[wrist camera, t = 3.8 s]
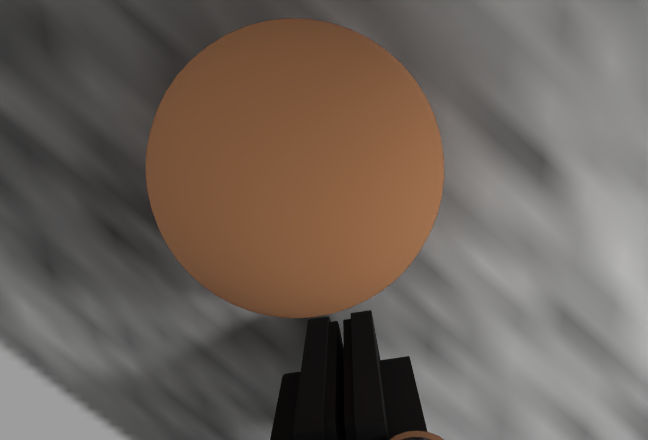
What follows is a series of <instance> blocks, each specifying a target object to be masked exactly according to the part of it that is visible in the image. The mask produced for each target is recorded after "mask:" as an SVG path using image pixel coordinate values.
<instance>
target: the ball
mask: <svg viewBox="0 0 648 440" xmlns="http://www.w3.org/2000/svg"><path fill="white" fill-rule="evenodd" d="M146 182H147V191H148V195H149V200H150V204H151V209H152V211H153V214H154V217H155V220H156V222H157V225H158V228H159V230H160V232H161V234H162V236H163V238H164V240H165V242H166V244H167V246H168V247H169V248H170V250H171V251H172V253H173V254H174V256H175V257H176V259H177V260H178V261H179V262H180V264H181V265H182V266H183V267H184V268H185V269H186V271H187V272H188V273H189V274H190V275H191V276H192V277H194V278H195V279H196V280H197V281H198V282H199V283H200V284H201V285H203V286H204V287H205V288H207V289H208V290H210V291H211V292H212V293H214V294H215V295H217V296H218V297H220V298H222V299H224V300H226V301H228V302H229V303H231V304H234V305H236V306H238V307H241V308H243V309H246V310H249V311H252V312H256V313H259V314H263V315H268V316H275V317H281V318H309V317H318V316H323V315H328V314H333V313H336V312H339V311H342V310H345V309H348V308H351V307H353V306H355V305H357V304H359V303H361V302H364V301H366V300H368V299H369V298H371V297H373V296H374V295H376V294H377V293H379V292H381V291H382V290H384V289H385V288H386V287H387V286H389V285H390V284H391V283H392V282H393V281H395V280H396V279H397V278H398V277H399V276H400V275H401V274H402V273H403V272H404V271H405V270H406V269H407V268H408V266H409V265H410V264H411V263H412V261H413V260H414V258H415V257H416V256H417V254H418V253H419V252H420V250H421V248H422V246H423V245H424V243H425V241H426V239H427V237H428V236H429V234H430V232H431V229H432V227H433V224H434V222H435V219H436V217H437V214H438V210H439V206H440V202H441V198H442V192H443V183H444V156H443V149H442V142H441V136H440V132H439V129H438V125H437V122H436V119H435V115H434V113H433V111H432V109H431V107H430V104H429V102H428V100H427V98H426V96H425V94H424V93H423V91H422V90H421V88H420V87H419V85H418V83H417V82H416V80H415V79H414V78H413V77H412V75H411V74H410V73H409V72H408V71H407V70H406V68H405V67H404V66H403V65H402V64H401V63H400V62H399V61H398V60H397V59H396V58H395V57H393V56H392V55H391V54H390V53H389V52H388V51H387V50H385V49H384V48H382V47H381V46H379V45H378V44H376V43H375V42H373V41H372V40H371V39H369V38H367V37H365V36H363V35H361V34H359V33H357V32H355V31H353V30H351V29H348V28H345V27H342V26H339V25H336V24H333V23H329V22H324V21H318V20H312V19H295V18H285V19H277V20H268V21H263V22H260V23H256V24H252V25H248V26H245V27H243V28H240V29H238V30H236V31H233V32H231V33H229V34H227V35H225V36H223V37H222V38H220V39H218V40H217V41H215V42H213V43H212V44H210V45H209V46H207V47H206V48H205V49H204V50H202V51H201V52H200V53H199V54H198V55H196V56H195V57H194V58H193V59H192V60H190V61H189V63H188V64H187V65H186V66H185V67H184V68H183V69H182V70H181V71H180V73H179V74H178V75H177V76H176V77H175V79H174V80H173V82H172V83H171V85H170V86H169V88H168V89H167V91H166V92H165V94H164V97H163V99H162V101H161V103H160V105H159V107H158V109H157V112H156V115H155V118H154V121H153V124H152V127H151V130H150V134H149V140H148V145H147V151H146Z"/></svg>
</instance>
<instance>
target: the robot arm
mask: <svg viewBox="0 0 648 440" xmlns="http://www.w3.org/2000/svg"><path fill="white" fill-rule="evenodd" d="M343 326H344V348H343V343H342V338H341V333H340V329H339V324H338V321H334V322H331V321H330V318H329V317H323V318H317V319H310V320H308V324H307V331H306V339H305V346H304V353H303V361H302V368H301V372H295V373H288V374H284V375H283V378H282V382H281V387H280V392H279V397H278V402H277V407H276V413H275V418H274V423H273V428H272V433H271V438H270V440H444V439H442V438H441V437H439V436H438V435H435V434H432V433H430V432H427V428H426V424H425V420H424V416H423V412H422V407H421V403H420V399H419V395H418V391H417V386H416V382H415V378H414V374H413V370H412V365H411V361H410V357H409V356H408V357H400V358H393V359H386V360H380V356H379V350H378V345H377V339H376V334H375V328H374V323H373V317H372V312H371V310H369V311H363V312H356V313H351V319H347V320H344V321H343Z"/></svg>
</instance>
